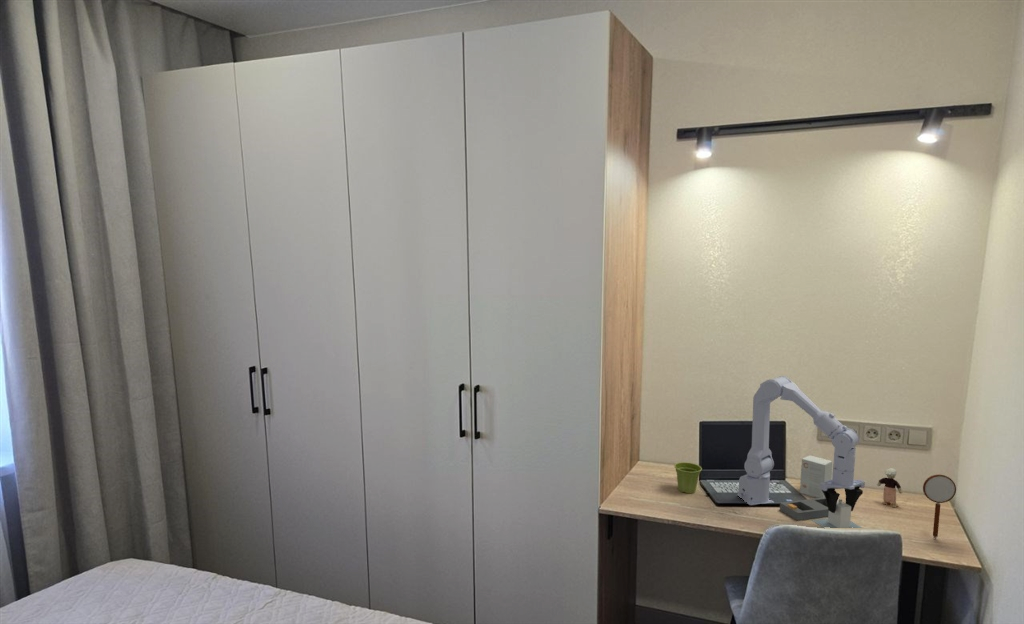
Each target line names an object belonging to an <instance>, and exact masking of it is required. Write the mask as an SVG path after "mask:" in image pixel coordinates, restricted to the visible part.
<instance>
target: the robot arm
mask: <svg viewBox="0 0 1024 624" xmlns="http://www.w3.org/2000/svg"><path fill="white" fill-rule="evenodd" d="M778 398H780V400H783V401H789V402H792V403H794V404H795V405H796V406H798V407H799V408H800V409H801V410H803V411H804V412H805V413H806V414H808V415H809V417H811V418H812V419H813V420H812V421H813V425H815V426H816V427H817V428H818V429H819V430H820V431H821V432H822V433H824V434H825V435H826V437H828V438H829V439H830V440H831V443H832V446H833V447H834V451H833V461H832V478H831V480H829V481H826V482H822V483H820V489H821V490H822V492H823V493H824V496H825V498H826V501H827V506H828V510H829V511H830V512H832V513H835V511H836V504H837V500H839V498H840V495H841V493H838V492H837V490H842V489H844V492H845V503H846V504H848V505H849V506H851V512H853V511H854V508H855V506H856V504H857V502H858V500H859V498H860V497H861V496H862V495H863V493H864V491H863V490H862V489H865V484H866V483H865V482H866V481H863V480H862V479H855V465H856V446H857V445H858V444H859V442H860V437H859V435H858V433H857V432H856V431H855V430H854V429H853V428H848V426H846V425H843V423H841V422H840V421H839V420H838V419H837V418H836V417H835V416H836V415H835V414H834V413H833V412H829V411H827V410H822V409H820V408H819V407H818V406H817V405H816V404H815V403H814V402H813V401H812V400H811V399H810V398H809V397H808V396H807V395H806V394H805V393H804V392H803V391H802V390H801V389H800V388H799V387H798V385H797V384H796V383H795V382H793V381H792V380H791V379H790V378H788V376H784V375H781V376H777V377H774V378H771V379H770V378H769V379H766V380H765V381H763V382H761V383H760V385H759V387H758V389H757V390H756V392H755V393H754V395H753V398H752V399H753V400H752V427H751V447H750V449H749V451H748V453H747V457H746V460H745V461H744V464H743V465H744V470H745V472H746V474H744V475H741V476H740V477H739V479H738V492H737V495H738V496H739V497H740V498H742V499H743V500H744V501H743V500H742V499H741V500H742V501H743V502H744V503H746V502H747V503H746V505H747V504H748V505H749V506H757V505H760V504H762V505H764V504H774V503H775V501H774V500H773V499H771V500H769V499H770V483H771V482H770V481H771V480H770V479H771V473H770V472H771V470H773V469H774V466H775V462H774V459H773V457H772V454H773V452H772V450H771V449H770V448H769V447H770V445H769V444H770V424H771V423H770V422H771V421H770V417H771V416H770V414H771V403H772V402H774V401H776V399H778ZM739 497H738V498H739ZM740 498H739V499H740Z"/></svg>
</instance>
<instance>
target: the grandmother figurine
mask: <svg viewBox="0 0 1024 624" xmlns="http://www.w3.org/2000/svg"><path fill="white" fill-rule="evenodd" d="M884 475H886V476H887V477H883V478H881V479H879V480H878V482H877V483H876V485H877V487H880V486H881V485H884V487H883V494H882V495H883V497H882V498H883V499H882V500H883V502H882V505H885V504H886V505H885V506H888V505H889V506H890V507H892V506H893V507H892V508H896V507H895V506H898V507H899V505H898V503H897V491H898V494H903V491H902V486H901V485H900V483H899V482H898V481H897V480H895V479H894V478H896V476H897V470H896V469H895V468H892V467H891V468H887V469H886V470H885V471H884ZM896 488H897V489H896Z"/></svg>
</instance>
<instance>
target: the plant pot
mask: <svg viewBox="0 0 1024 624" xmlns="http://www.w3.org/2000/svg"><path fill="white" fill-rule="evenodd" d="M674 468H675V471H676V479H677V480H676V481H677V489H678V491H680V492H681V493H686V494H694V493H695V492H696V491H697V488H698V487H697V486H698V482H699V476H700V475H701V472H702V470H703V468H702V466H701V465H699V464H696V463H692V462H677V463H675V464H674Z"/></svg>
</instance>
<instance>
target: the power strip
mask: <svg viewBox="0 0 1024 624" xmlns="http://www.w3.org/2000/svg"><path fill="white" fill-rule="evenodd" d="M779 511H780V512H782V513H784V514H785V515H787V516H788V517H790V518H791V519H793V520H796V522H797V521H798V522H799V521H806V520H817V519H824V518H828V514H829V510H828V506H827V501H826V498H825V497H824V498H815V497H814V498H809V499H801V500H791V501H784V502H780V503H779Z"/></svg>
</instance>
